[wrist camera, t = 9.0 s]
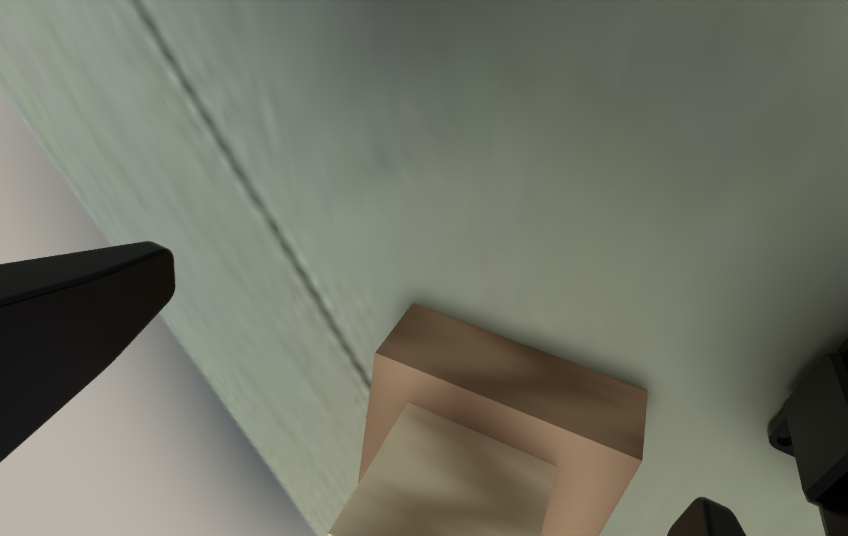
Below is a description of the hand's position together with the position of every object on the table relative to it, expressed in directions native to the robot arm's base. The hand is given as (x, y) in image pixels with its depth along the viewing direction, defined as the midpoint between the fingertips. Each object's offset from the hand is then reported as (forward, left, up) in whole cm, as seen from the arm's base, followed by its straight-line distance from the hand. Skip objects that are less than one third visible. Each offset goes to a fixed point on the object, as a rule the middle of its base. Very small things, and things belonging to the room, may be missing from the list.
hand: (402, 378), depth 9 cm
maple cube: (-2, +13, -8) cm, 15 cm away
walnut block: (-2, +13, -12) cm, 18 cm away
